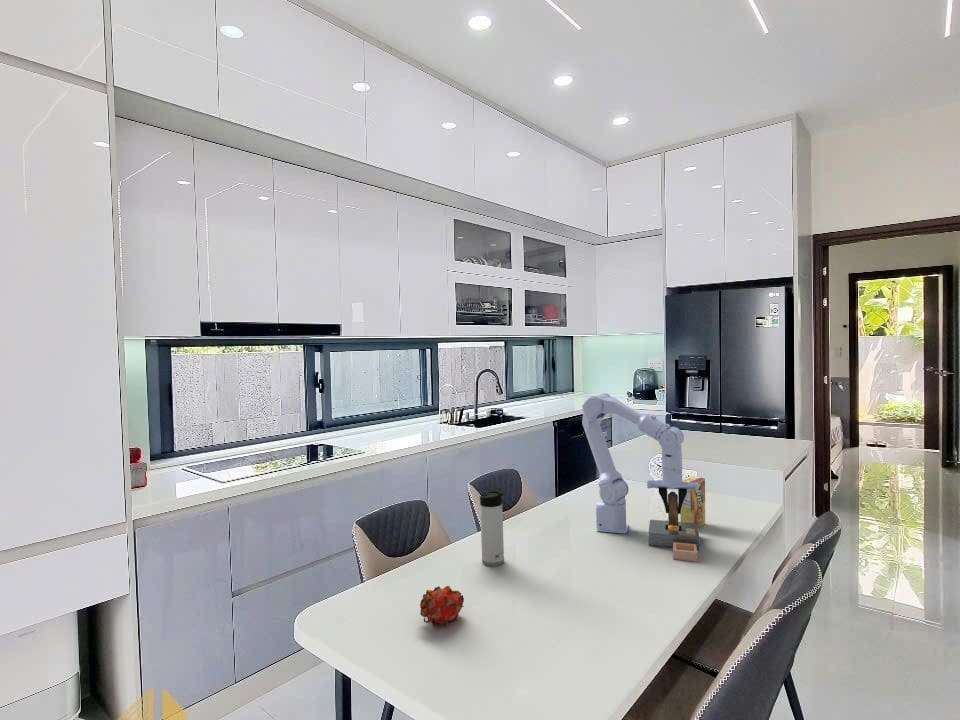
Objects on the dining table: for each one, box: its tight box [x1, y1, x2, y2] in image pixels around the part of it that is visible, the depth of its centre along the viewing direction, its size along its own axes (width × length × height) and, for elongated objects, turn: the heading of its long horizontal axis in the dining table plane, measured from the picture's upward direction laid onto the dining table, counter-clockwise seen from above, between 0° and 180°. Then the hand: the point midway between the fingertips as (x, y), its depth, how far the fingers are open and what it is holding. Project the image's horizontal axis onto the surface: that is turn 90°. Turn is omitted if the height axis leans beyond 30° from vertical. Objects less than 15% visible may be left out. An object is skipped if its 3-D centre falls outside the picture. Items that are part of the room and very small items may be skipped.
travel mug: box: [479, 490, 505, 567], centre depth 151 cm, size 6×7×20 cm
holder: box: [672, 542, 698, 563], centre depth 150 cm, size 6×6×2 cm
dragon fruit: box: [419, 585, 465, 627], centre depth 120 cm, size 8×8×12 cm
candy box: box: [679, 476, 706, 528], centre depth 174 cm, size 9×4×15 cm, turn 129°
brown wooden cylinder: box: [667, 491, 679, 526], centre depth 161 cm, size 3×3×10 cm
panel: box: [648, 519, 701, 552], centre depth 162 cm, size 14×12×4 cm
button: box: [668, 525, 679, 531], centre depth 162 cm, size 3×3×1 cm
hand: (673, 512), depth 162 cm, fingers closed on brown wooden cylinder, 3 cm apart
